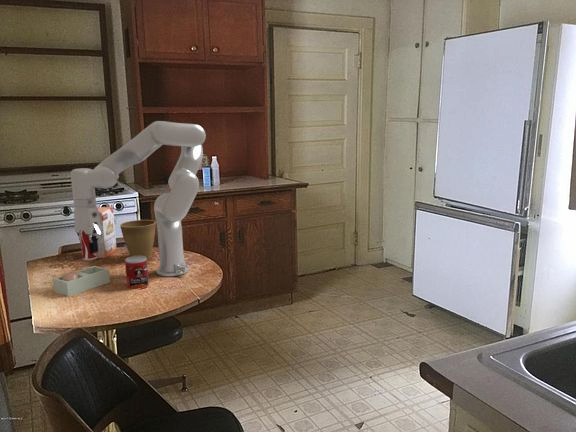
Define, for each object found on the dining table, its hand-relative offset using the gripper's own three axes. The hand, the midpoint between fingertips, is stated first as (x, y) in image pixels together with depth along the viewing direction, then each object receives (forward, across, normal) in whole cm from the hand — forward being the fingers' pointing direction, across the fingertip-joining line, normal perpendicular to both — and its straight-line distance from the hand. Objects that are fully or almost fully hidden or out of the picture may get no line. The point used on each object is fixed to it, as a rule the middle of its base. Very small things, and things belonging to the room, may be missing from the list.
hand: (89, 250), depth 184 cm
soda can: (+3, 0, 0) cm, 3 cm away
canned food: (+13, -16, -8) cm, 22 cm away
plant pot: (+13, +12, -33) cm, 37 cm away
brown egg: (+13, 0, +9) cm, 15 cm away
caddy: (+13, 0, +4) cm, 14 cm away
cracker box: (+14, +31, -29) cm, 44 cm away
